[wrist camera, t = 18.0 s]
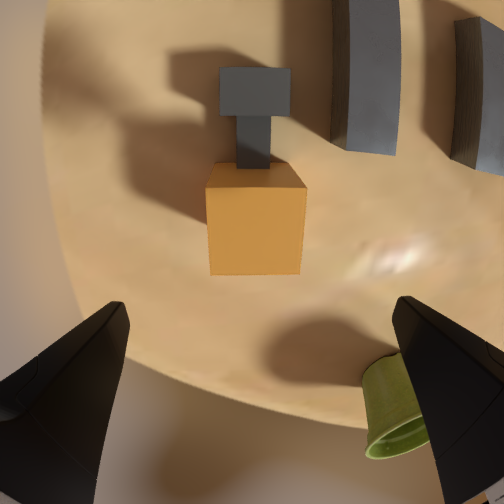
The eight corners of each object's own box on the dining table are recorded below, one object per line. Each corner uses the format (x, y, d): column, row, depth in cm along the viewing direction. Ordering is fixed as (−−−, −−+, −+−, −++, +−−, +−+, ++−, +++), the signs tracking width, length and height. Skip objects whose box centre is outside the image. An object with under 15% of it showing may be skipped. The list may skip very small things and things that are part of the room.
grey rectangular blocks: (329, 142, 17) (345, 150, 14) (331, -18, 12) (346, -35, 9) (497, 169, 18) (521, 181, 15) (504, 48, 12) (528, 48, 10)
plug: (217, 229, 20) (210, 275, 15) (214, 73, 15) (202, 60, 10) (285, 229, 20) (299, 274, 15) (291, 74, 15) (312, 63, 10)
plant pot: (382, 401, 31) (402, 459, 23) (327, 388, 28) (345, 459, 21) (438, 351, 27) (471, 410, 20) (390, 329, 25) (428, 402, 17)
